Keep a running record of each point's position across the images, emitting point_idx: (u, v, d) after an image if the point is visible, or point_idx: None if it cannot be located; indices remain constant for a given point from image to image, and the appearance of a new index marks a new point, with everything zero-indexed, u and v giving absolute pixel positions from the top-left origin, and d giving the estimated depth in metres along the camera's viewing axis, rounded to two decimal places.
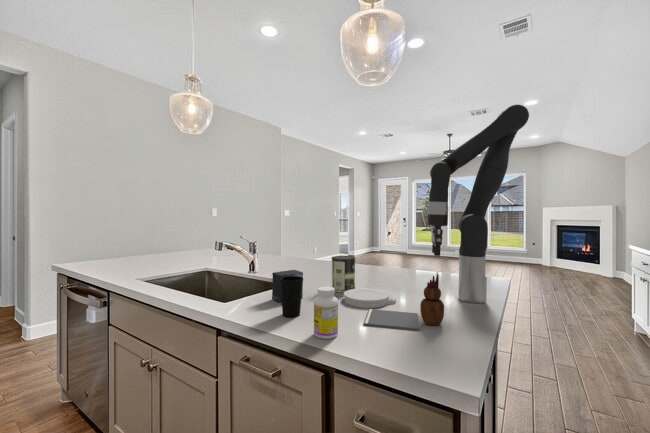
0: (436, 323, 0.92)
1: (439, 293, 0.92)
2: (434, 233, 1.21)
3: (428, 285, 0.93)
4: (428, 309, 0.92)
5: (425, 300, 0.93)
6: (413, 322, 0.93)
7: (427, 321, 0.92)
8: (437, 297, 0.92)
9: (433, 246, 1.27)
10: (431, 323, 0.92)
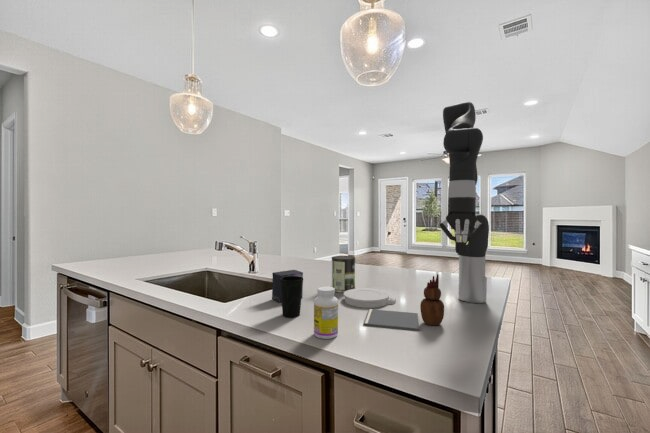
0: (436, 323, 0.92)
1: (439, 293, 0.92)
2: (469, 223, 0.90)
3: (428, 285, 0.93)
4: (428, 309, 0.92)
5: (425, 300, 0.93)
6: (413, 322, 0.93)
7: (427, 321, 0.92)
8: (437, 297, 0.92)
9: None
10: (431, 323, 0.92)
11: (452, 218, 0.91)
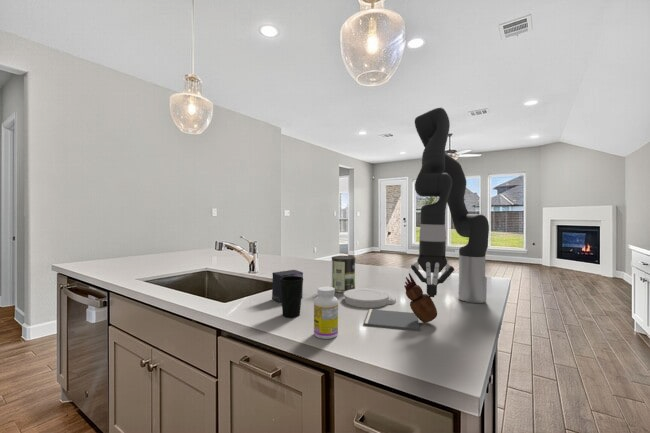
0: (432, 317, 0.92)
1: (419, 289, 0.93)
2: (439, 266, 0.92)
3: (406, 288, 0.95)
4: (417, 309, 0.92)
5: (412, 302, 0.94)
6: (413, 322, 0.93)
7: (424, 320, 0.92)
8: (419, 294, 0.93)
9: None
10: (428, 320, 0.92)
11: (423, 261, 0.93)
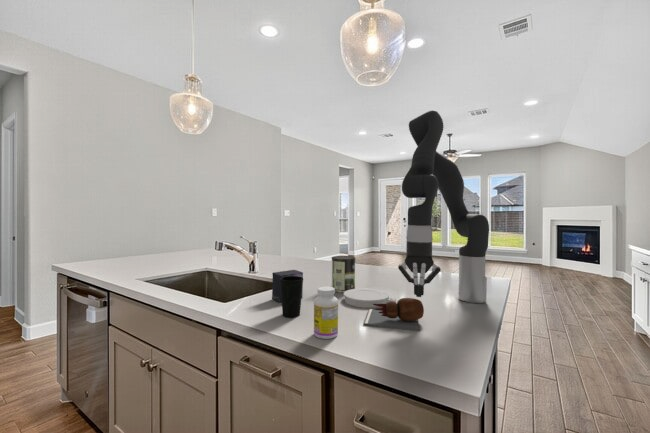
0: (421, 308, 0.93)
1: (391, 306, 0.93)
2: (426, 266, 0.93)
3: (384, 315, 0.94)
4: (407, 318, 0.92)
5: (399, 317, 0.94)
6: (413, 322, 0.93)
7: (420, 317, 0.93)
8: (395, 308, 0.93)
9: None
10: (421, 313, 0.93)
11: (410, 261, 0.94)
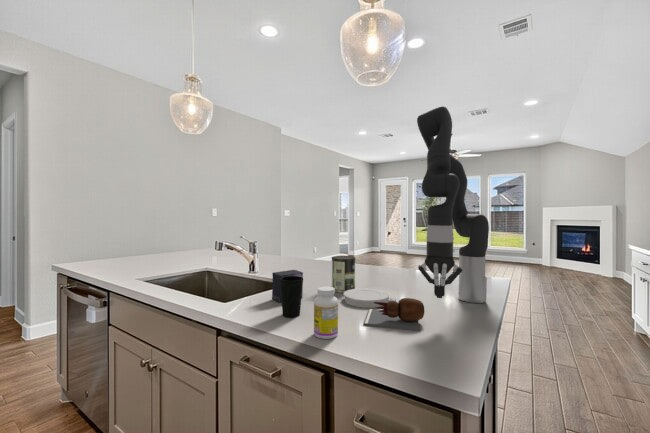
0: (422, 309, 0.93)
1: (392, 305, 0.93)
2: (447, 267, 0.92)
3: (384, 314, 0.94)
4: (408, 318, 0.92)
5: (399, 317, 0.94)
6: (413, 322, 0.93)
7: (420, 317, 0.93)
8: (396, 308, 0.93)
9: None
10: (422, 314, 0.93)
11: (430, 262, 0.93)
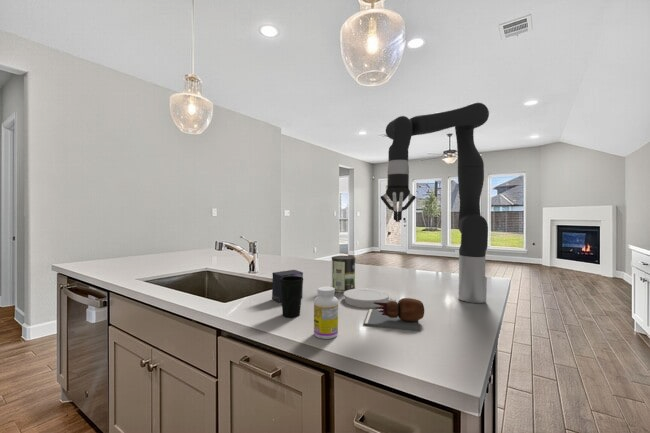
0: (422, 309, 0.93)
1: (392, 305, 0.93)
2: (403, 195, 1.11)
3: (384, 314, 0.94)
4: (408, 318, 0.92)
5: (399, 317, 0.94)
6: (413, 322, 0.93)
7: (420, 317, 0.93)
8: (396, 308, 0.93)
9: None
10: (422, 314, 0.93)
11: (390, 191, 1.12)
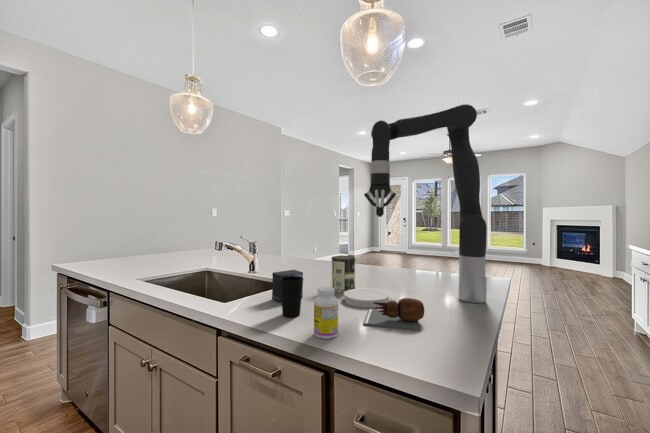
0: (422, 309, 0.93)
1: (392, 305, 0.93)
2: (385, 192, 1.22)
3: (384, 314, 0.94)
4: (408, 318, 0.92)
5: (399, 317, 0.94)
6: (413, 322, 0.93)
7: (420, 317, 0.93)
8: (396, 308, 0.93)
9: None
10: (422, 314, 0.93)
11: (373, 189, 1.23)
